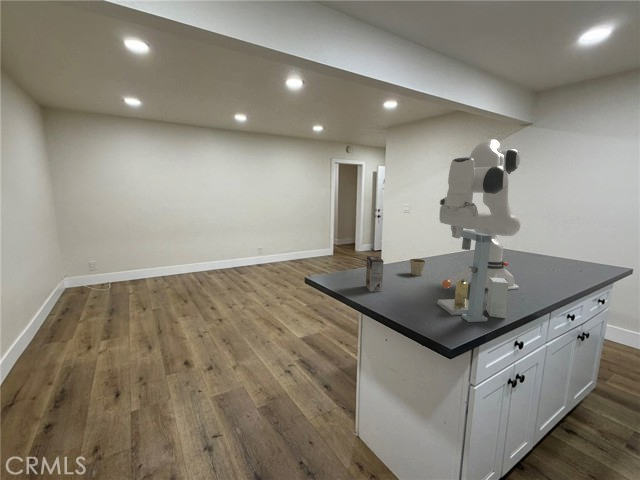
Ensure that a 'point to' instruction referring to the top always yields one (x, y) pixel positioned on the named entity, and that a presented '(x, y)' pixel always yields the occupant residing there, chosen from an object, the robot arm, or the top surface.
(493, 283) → the skincare box
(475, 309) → the frame
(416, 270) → the flower pot
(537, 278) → the top surface
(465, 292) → the cylinder
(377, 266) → the coffee box
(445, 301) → the press bed
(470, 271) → the lever
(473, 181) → the robot arm
